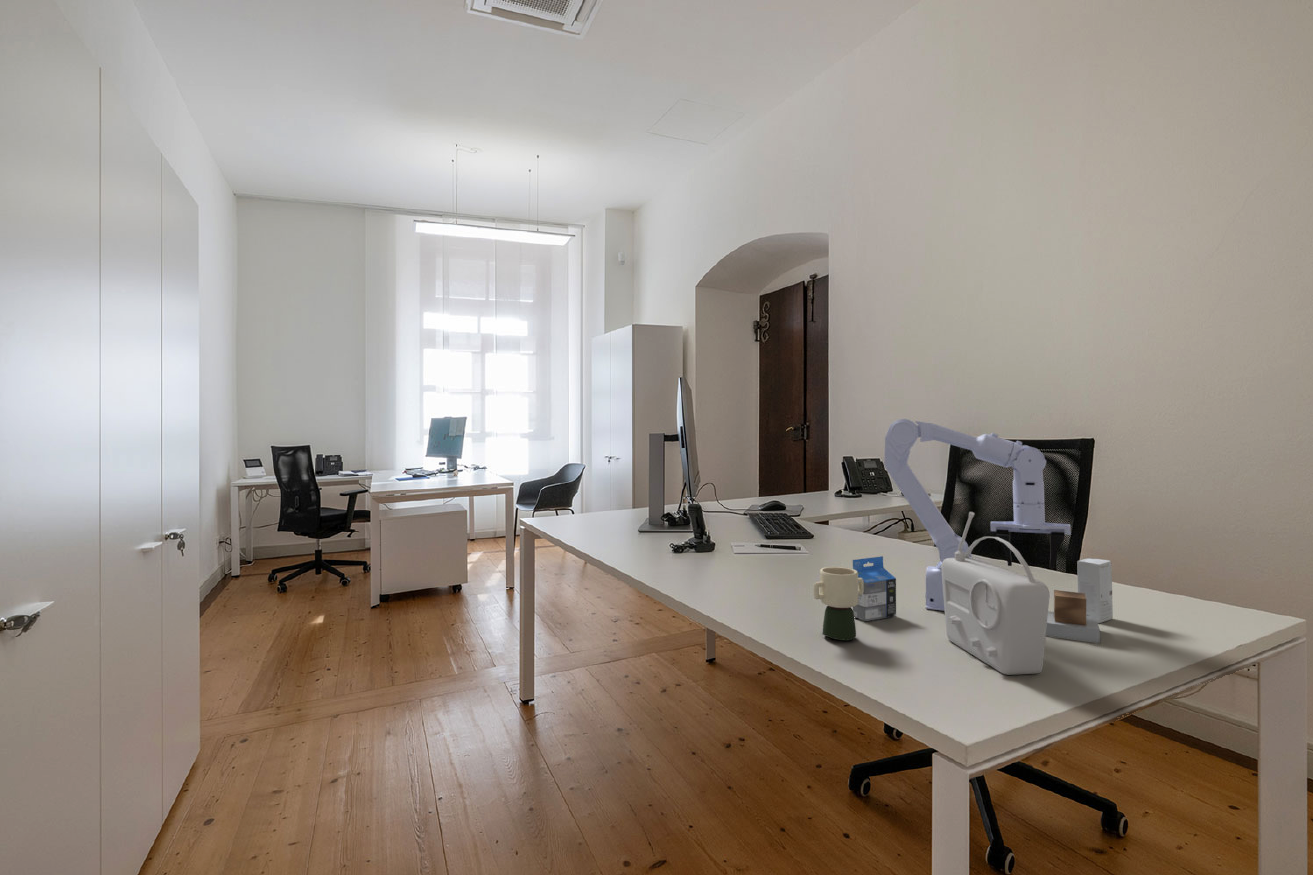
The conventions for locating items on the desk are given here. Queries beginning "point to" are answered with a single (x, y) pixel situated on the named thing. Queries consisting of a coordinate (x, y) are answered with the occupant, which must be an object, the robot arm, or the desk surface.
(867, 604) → the ink cartridge box
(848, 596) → the character mug
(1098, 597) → the skincare box
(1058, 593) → the walnut cube
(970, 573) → the radio
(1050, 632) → the stoneware block
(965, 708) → the desk surface
